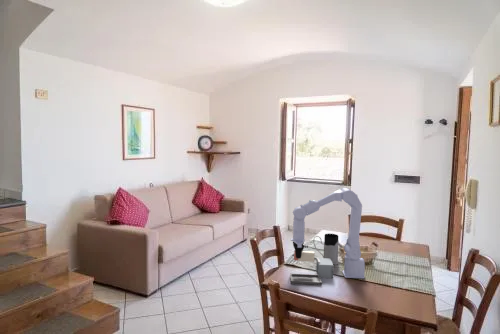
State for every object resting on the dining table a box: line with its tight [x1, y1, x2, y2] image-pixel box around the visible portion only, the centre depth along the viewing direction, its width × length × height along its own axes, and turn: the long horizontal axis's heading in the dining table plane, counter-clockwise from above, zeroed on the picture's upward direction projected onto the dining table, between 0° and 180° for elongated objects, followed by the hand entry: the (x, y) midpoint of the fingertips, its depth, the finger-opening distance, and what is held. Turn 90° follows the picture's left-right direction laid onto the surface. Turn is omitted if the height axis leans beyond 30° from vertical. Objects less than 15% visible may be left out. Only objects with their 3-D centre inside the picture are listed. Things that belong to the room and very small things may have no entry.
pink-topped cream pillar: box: [293, 249, 316, 263], centre depth 162 cm, size 10×2×4 cm, turn 86°
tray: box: [289, 272, 323, 286], centre depth 154 cm, size 14×9×2 cm, turn 86°
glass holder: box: [312, 233, 339, 265], centre depth 179 cm, size 9×14×15 cm, turn 71°
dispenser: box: [315, 257, 334, 279], centre depth 162 cm, size 7×9×7 cm
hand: (298, 256), depth 162 cm, fingers closed on pink-topped cream pillar, 2 cm apart
